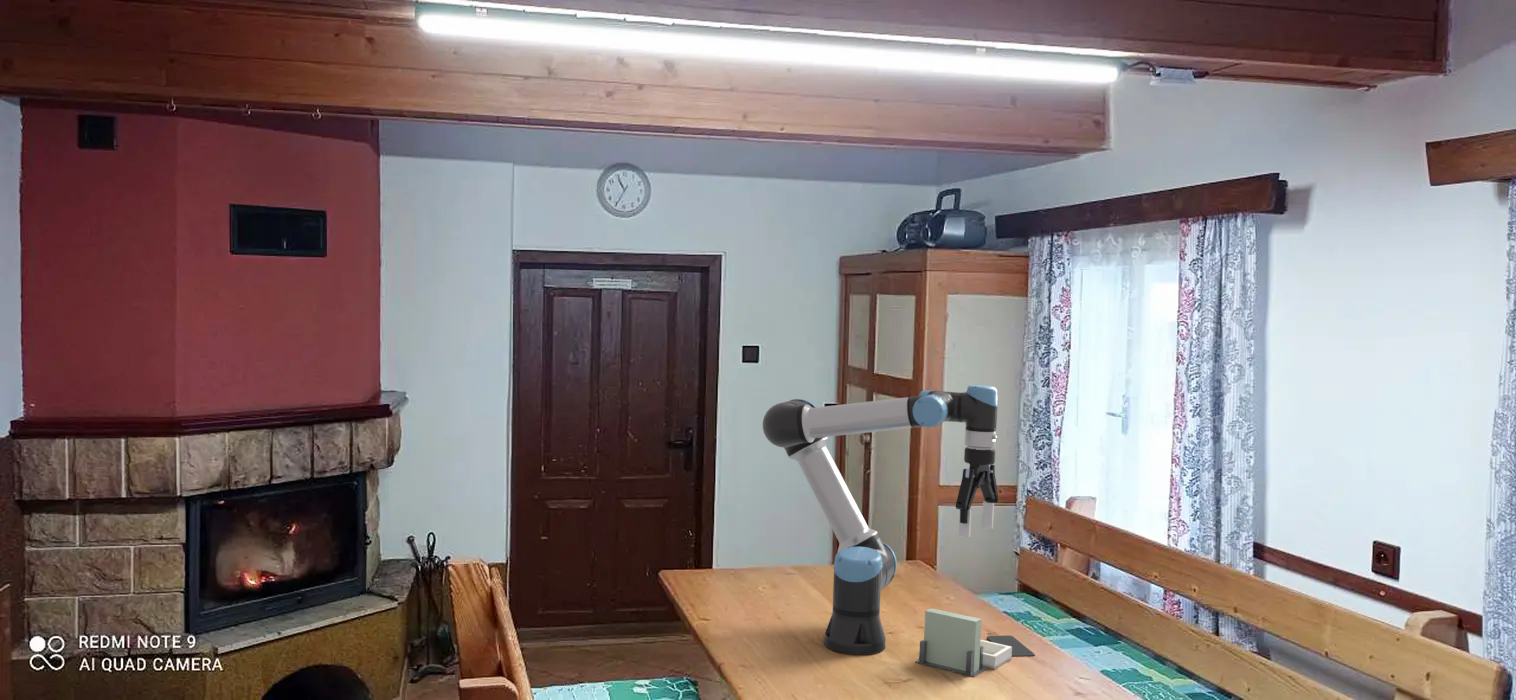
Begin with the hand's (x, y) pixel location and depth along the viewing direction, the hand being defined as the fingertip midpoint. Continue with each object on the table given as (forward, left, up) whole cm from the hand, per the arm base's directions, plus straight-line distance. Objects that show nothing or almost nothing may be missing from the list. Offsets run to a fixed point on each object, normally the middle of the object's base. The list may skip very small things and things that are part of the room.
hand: (976, 532), depth 274 cm
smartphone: (+8, +6, -29) cm, 31 cm away
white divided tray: (+3, -8, -29) cm, 30 cm away
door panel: (+3, -18, -28) cm, 34 cm away
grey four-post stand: (+3, -18, -29) cm, 34 cm away
